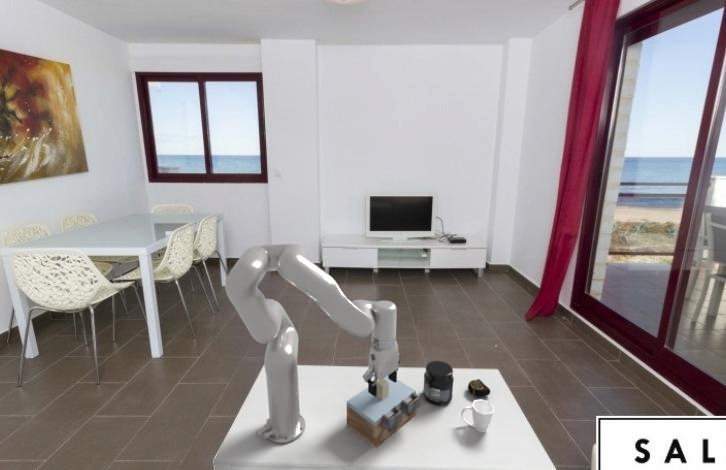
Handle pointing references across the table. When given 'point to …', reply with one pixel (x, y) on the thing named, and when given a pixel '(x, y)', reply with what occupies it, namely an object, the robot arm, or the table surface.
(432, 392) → the supplement container
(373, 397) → the door
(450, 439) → the table surface
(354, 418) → the cabinet
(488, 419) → the cup
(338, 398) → the table surface
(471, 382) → the tape measure
